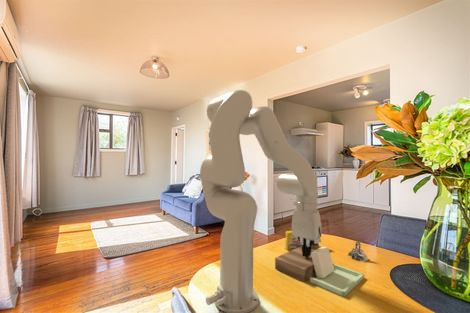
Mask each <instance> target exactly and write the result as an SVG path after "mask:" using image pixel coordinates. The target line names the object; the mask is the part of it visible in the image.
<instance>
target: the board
mask: <svg viewBox="0 0 470 313" xmlns="http://www.w3.org/2000/svg"><path fill="white" fill-rule="evenodd" d="M315 250H316V249H313V248H311V252H313V251H315ZM274 260H275V261H274V264H275V265H274V268H275V270H277V271H279V272H281V273H283V274H286V275H288V276H291V277H293V278H295V279H297V280H300V281H302V282H303V283H305V282H306V281H308V280H310V277H314V276H316V272H315V268H314V264H313V260H312V256H311V255H310V256H309V257H305V256H302V246H300V247H298V248H296V249H294V250H288V252H287V251H286V253H283V254H281V255H279V256H277V257H275V258H274Z"/></svg>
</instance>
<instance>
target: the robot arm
mask: <svg viewBox="0 0 470 313" xmlns="http://www.w3.org/2000/svg"><path fill="white" fill-rule="evenodd" d="M206 116H207V118H208V120H209V121H210V122H211V124H210V127H209V134H208V138H209V139H208V140H209V146H210V154H211V155H209V156H207V157H206V158H204V160H203V161H202V163H201V165H200V170H199V171H200V172H199V177H200V181H201V182H200V183H201V187H202V192H203V195H204V200H205V205H206V207H207V209H208V211H209V213H210V214H211V215H212V216H214V217H216V218H218V219H220V220H223V221H224V224H223V228H222V230H221V234H220V239H219V240H220V242H219V244H220V245H219V246H220V247H219V248H220V250H219V253H220V254H219V256H220V261H219V263H220V264H219V266H220V267H219V268H220V269H219V271H220V273H219V275H220V279H219V284H220V285H217V287H216V291H215V292H214V293H213V294H211V295H209V296H207V297H206V298H205V303H206V305H207V306H211V305H213V304H215V306H216V307H217V308H218V309H219V310H221V311H222V312H224V313H250V312H252V311H253V310H254V309H256V308H257V306H258V304H259V295H258V292H257V291H255V289H254V231H255V223H256V218H257V213H258V206H257V202H256V200H255V198H254V197H253V196H252V195H251V194H250V193H247V192H246V191H243V190H237V189H234V188H236V187H237V188H238V187H240V186H241V185H242V184H244V182H245V180H246V169H245V163H244V158H243V153H242V146H241V138H240V135H244V136H249V135H250V136H251V135H254V136H255V138H256V139H257V142H258V144H259V146H260V147H261V150H262V151H263V153H264V155H265V157H266V158H267V159H269V160H271V161H273V162H274V163H277V164H278V165H281V166H283V167H285V168H286V169H288V170H289V171H290V172H285V173H282V174H280V175H279V176H278V177H277V179H276V188H277V189H278V191H280V193H281V192H282V193H283V194H288V195H292V196H295V201H293V205H295V208H294V210H293V214H292V217H291V218H292V219H291V231H292V234H293V236H294V237H296V238H298V239H299V241H300V243H301V245H302V256H305V257H309V256H310V255H311V249H312V248H311V245H313V244H314V243H317V244H319V245H320V244H322V243H321V242H322V240H321V238H322V221H321V215H320V211H319V210H318V176H317V174H315V172H314V170H313V168H312V166H311V164H310V162H309V161H308V160H307V159H306V157H304V156H303V155H302V154H300V153H299V151H297V150H296V149H295V148H293V147H292V146H291V145H290V144H289V142H288V140H287V139H286V136H285V133H284V132H283V129H282V127H281V125H280V123H279V121H278V118H277V116H276V114H275V112H274V111H273V110H272V108H271V107H269V106H258V107H253V98H252V96H251V94H250V93H249V92H248V91H247V90H243V89H238V90H233V91H230V92H227V93H225V94H223V95H221V96H219V97H216V98H214V99H212V100H211V101H210V102H209V103H208V105H207V108H206ZM231 188H233V189H231Z"/></svg>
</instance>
